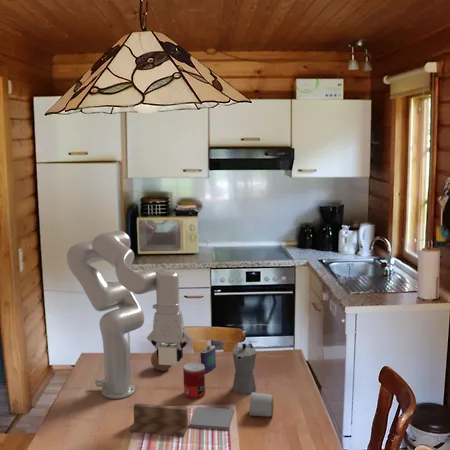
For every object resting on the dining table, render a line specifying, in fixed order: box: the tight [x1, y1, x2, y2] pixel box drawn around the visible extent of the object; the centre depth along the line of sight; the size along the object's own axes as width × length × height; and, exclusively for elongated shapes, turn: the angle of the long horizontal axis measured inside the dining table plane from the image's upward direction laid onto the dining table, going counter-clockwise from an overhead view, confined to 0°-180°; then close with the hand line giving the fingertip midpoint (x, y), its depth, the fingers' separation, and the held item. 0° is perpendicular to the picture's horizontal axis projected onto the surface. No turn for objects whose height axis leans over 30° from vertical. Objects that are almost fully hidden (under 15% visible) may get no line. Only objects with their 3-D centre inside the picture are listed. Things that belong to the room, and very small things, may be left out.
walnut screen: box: [129, 403, 189, 437], centre depth 179 cm, size 18×6×7 cm, turn 80°
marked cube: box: [158, 343, 180, 366], centre depth 186 cm, size 6×6×6 cm
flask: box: [200, 344, 217, 375], centre depth 224 cm, size 9×3×11 cm, turn 147°
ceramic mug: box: [249, 392, 275, 417], centre depth 189 cm, size 11×8×8 cm
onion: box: [150, 349, 173, 372], centre depth 225 cm, size 10×9×10 cm
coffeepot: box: [232, 342, 257, 395], centre depth 207 cm, size 15×9×18 cm, turn 159°
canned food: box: [182, 362, 206, 400], centre depth 203 cm, size 8×8×11 cm
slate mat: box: [189, 406, 235, 431], centre depth 185 cm, size 13×12×1 cm
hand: (169, 358), depth 186 cm, fingers closed on marked cube, 6 cm apart
